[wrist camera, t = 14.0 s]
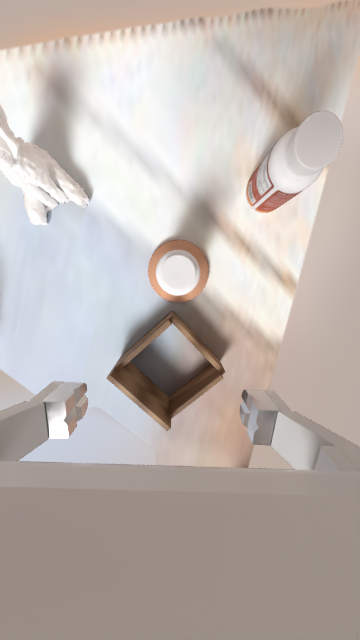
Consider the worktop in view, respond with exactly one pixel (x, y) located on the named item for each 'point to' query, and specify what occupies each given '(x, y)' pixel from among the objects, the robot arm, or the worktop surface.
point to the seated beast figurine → (36, 175)
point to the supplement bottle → (177, 272)
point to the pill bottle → (295, 161)
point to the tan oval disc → (188, 248)
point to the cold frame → (148, 392)
